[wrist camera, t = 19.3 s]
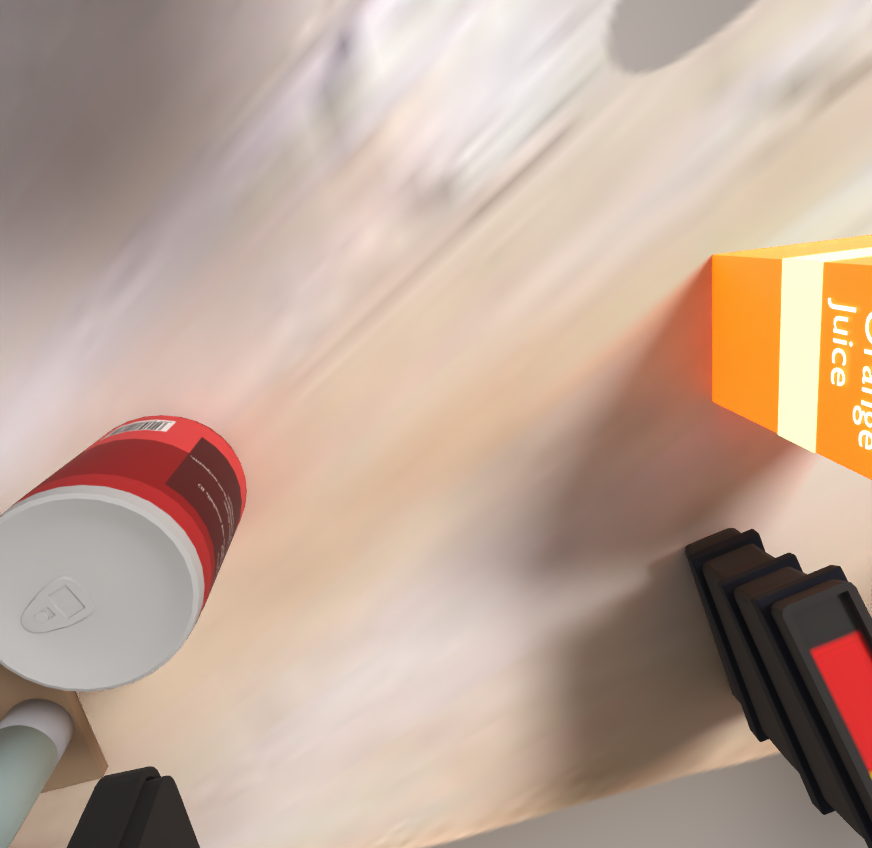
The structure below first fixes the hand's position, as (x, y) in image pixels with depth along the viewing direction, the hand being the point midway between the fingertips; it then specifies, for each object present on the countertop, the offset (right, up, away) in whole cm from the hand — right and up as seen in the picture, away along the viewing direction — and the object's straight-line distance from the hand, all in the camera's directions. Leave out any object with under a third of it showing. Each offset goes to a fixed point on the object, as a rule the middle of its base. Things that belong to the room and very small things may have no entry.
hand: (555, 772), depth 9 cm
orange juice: (+17, +10, +26) cm, 33 cm away
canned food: (-15, +1, +26) cm, 30 cm away
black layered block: (+15, -5, +30) cm, 34 cm away
